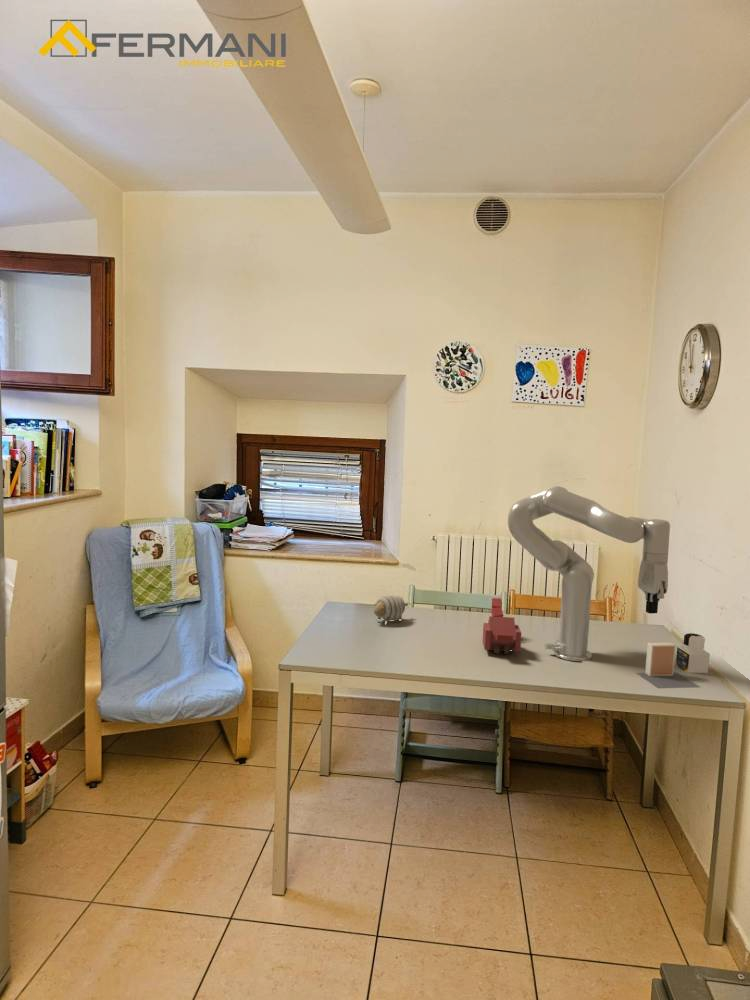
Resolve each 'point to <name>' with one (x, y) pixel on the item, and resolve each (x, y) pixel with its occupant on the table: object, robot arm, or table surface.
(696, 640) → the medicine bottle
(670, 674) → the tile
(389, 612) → the toy sheep
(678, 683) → the mat
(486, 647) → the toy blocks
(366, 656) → the table surface
